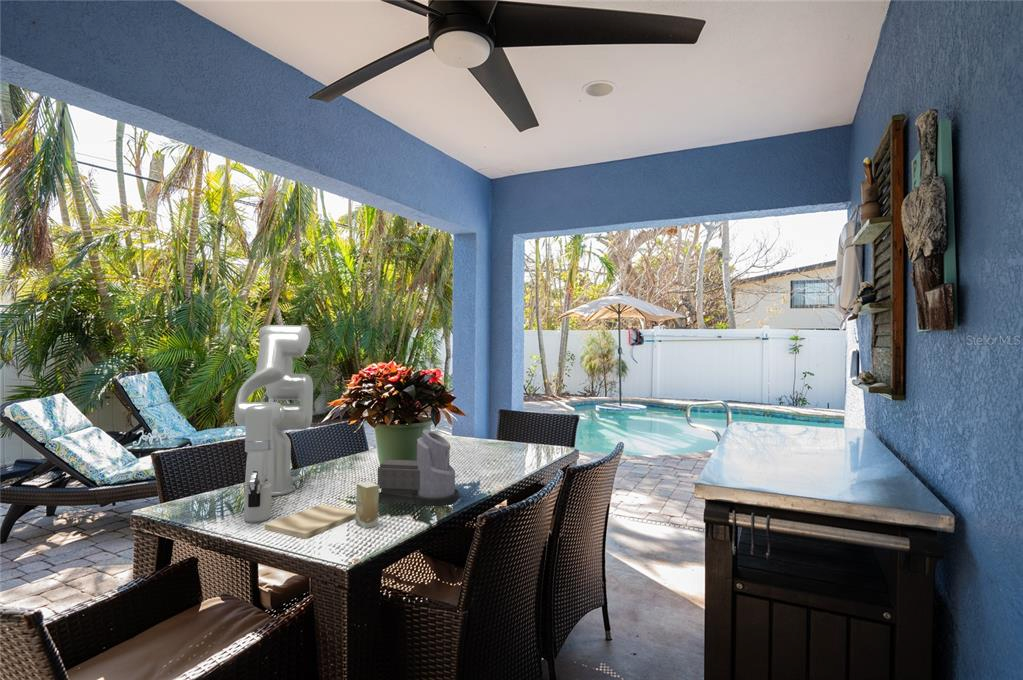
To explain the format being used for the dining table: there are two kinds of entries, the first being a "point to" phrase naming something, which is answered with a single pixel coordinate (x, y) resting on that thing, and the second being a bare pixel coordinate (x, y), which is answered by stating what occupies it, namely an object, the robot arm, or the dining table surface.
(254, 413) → the robot arm
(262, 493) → the can
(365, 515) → the skincare box
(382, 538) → the dining table surface
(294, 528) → the oak board
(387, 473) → the juicer
